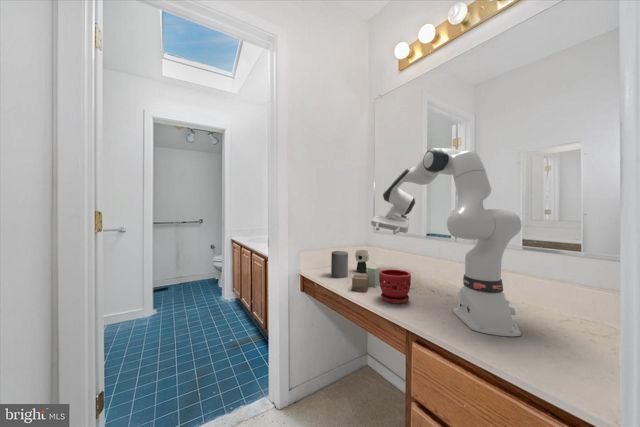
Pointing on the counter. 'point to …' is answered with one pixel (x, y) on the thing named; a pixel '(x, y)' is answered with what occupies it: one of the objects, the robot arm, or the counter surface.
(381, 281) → the plant pot
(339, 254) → the pillar candle
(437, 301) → the counter surface
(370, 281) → the sage brick
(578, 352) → the counter surface
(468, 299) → the robot arm
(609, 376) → the counter surface
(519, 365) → the counter surface
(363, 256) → the character mug
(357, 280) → the walnut base
